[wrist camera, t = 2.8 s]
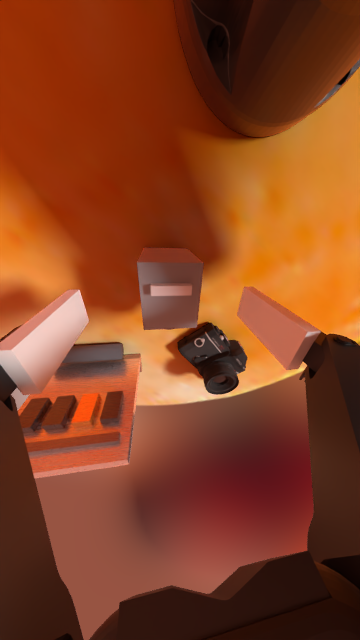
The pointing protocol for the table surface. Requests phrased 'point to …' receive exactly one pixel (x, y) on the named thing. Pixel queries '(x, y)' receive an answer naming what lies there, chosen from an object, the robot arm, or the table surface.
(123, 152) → the table surface
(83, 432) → the breaker panel
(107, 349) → the gray cylinder
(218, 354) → the film camera
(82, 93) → the table surface
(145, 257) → the grey tall block
